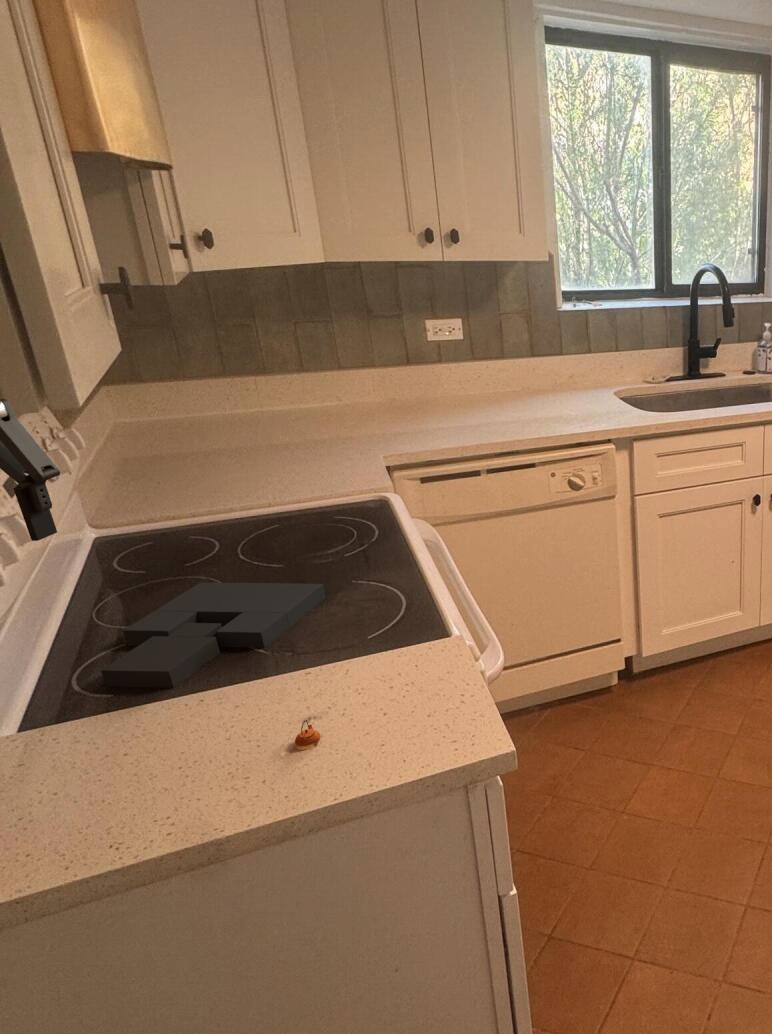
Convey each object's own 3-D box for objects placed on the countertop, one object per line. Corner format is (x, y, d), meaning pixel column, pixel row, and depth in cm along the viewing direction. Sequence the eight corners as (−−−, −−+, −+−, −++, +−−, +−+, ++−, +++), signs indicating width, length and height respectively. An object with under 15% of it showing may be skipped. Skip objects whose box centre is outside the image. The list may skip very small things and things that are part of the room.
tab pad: (109, 696, 102) (100, 670, 100) (180, 646, 114) (173, 622, 113) (176, 698, 101) (168, 671, 100) (241, 647, 114) (234, 623, 112)
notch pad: (130, 655, 112) (122, 630, 110) (206, 604, 127) (200, 582, 125) (267, 657, 111) (260, 632, 110) (327, 606, 126) (322, 583, 125)
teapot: (289, 746, 92) (284, 727, 91) (311, 732, 95) (307, 713, 94) (306, 752, 91) (301, 733, 90) (328, 737, 94) (324, 719, 93)
